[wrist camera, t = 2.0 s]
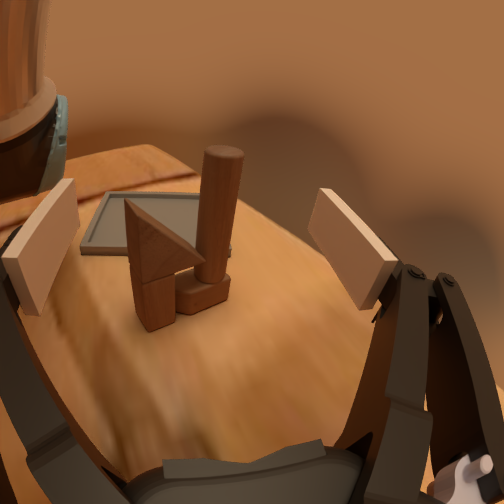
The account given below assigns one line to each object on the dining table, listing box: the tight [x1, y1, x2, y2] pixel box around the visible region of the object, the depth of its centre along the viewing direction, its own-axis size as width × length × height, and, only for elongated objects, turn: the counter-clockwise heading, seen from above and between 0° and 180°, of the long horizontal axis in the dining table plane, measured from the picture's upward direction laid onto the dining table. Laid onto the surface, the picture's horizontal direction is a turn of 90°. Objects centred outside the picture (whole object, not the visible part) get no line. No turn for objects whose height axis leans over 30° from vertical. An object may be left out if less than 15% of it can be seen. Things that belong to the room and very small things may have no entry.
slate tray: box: [80, 191, 231, 257], centre depth 45 cm, size 22×18×2 cm
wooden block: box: [124, 145, 244, 332], centre depth 27 cm, size 4×11×18 cm, turn 130°
